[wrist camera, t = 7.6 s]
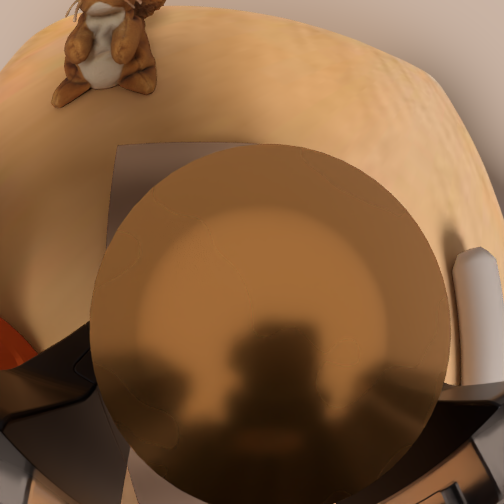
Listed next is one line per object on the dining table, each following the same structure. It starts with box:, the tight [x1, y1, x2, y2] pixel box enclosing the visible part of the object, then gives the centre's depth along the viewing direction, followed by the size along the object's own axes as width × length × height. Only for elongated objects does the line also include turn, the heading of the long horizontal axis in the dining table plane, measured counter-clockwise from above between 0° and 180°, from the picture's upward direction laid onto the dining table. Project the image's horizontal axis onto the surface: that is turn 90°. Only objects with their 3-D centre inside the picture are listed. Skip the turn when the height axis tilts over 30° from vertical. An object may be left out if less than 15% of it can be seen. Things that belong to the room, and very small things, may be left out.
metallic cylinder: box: [90, 144, 451, 504], centre depth 9 cm, size 5×5×13 cm
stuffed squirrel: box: [51, 0, 166, 108], centre depth 16 cm, size 10×14×13 cm
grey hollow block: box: [106, 142, 256, 504], centre depth 14 cm, size 22×10×4 cm, turn 7°
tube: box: [452, 247, 504, 386], centre depth 17 cm, size 5×5×25 cm
